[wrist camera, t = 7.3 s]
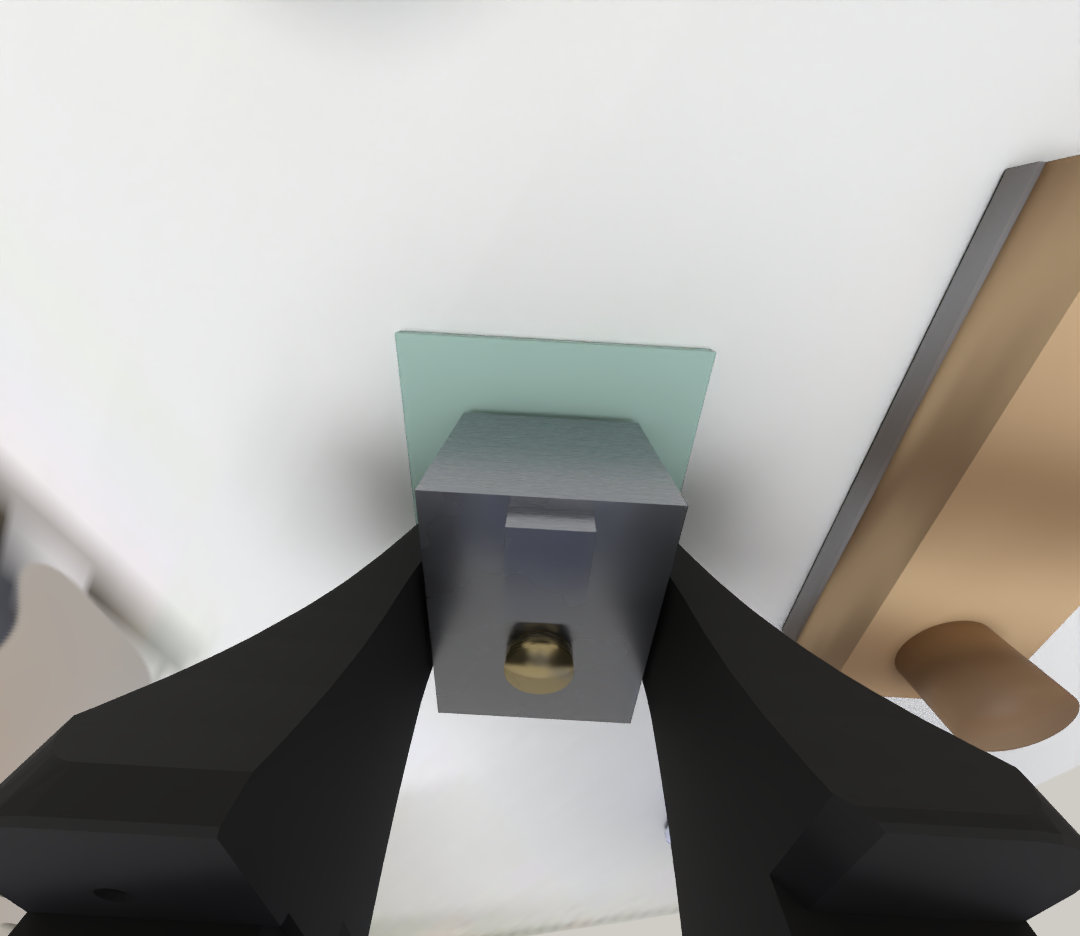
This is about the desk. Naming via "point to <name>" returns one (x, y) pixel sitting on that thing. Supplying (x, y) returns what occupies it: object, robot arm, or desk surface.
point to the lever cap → (545, 564)
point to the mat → (549, 388)
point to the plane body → (972, 489)
